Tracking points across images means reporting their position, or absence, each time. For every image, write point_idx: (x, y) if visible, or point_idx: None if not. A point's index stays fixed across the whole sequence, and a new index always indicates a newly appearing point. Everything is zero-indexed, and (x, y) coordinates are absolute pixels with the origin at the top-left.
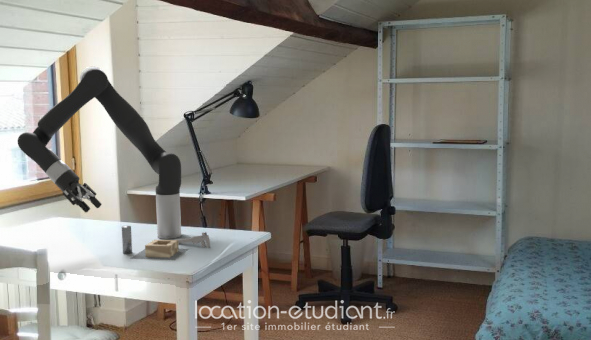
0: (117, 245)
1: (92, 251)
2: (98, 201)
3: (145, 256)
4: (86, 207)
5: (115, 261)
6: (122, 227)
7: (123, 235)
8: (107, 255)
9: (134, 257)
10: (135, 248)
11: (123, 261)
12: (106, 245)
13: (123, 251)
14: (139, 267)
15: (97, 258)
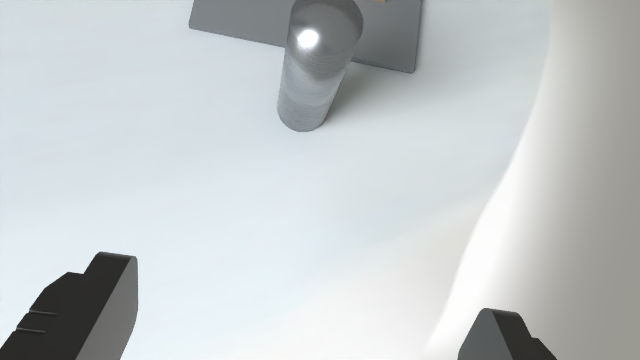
0: (71, 222)
1: (222, 340)
2: (97, 299)
3: (378, 4)
4: (542, 356)
5: (442, 136)
6: (356, 43)
7: (346, 68)
8: (324, 213)
9: (397, 51)
10: (169, 93)
11: (440, 98)
12: None
13: (323, 117)
14: (530, 9)
15: (387, 250)
